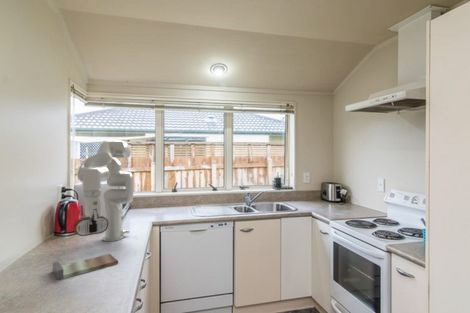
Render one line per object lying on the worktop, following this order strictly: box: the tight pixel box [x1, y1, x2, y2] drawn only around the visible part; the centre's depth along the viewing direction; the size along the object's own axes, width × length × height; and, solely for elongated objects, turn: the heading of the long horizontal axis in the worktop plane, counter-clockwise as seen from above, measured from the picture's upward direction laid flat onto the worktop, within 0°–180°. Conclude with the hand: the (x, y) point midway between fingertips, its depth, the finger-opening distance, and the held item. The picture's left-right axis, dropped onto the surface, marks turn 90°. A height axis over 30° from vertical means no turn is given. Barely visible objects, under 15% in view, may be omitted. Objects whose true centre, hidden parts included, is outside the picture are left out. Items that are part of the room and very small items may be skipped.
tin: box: [73, 215, 109, 237], centre depth 128 cm, size 15×3×8 cm, turn 133°
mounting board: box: [61, 253, 119, 280], centre depth 127 cm, size 23×12×2 cm, turn 133°
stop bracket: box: [52, 261, 63, 281], centre depth 118 cm, size 2×12×4 cm, turn 43°
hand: (92, 231), depth 128 cm, fingers closed on tin, 2 cm apart
